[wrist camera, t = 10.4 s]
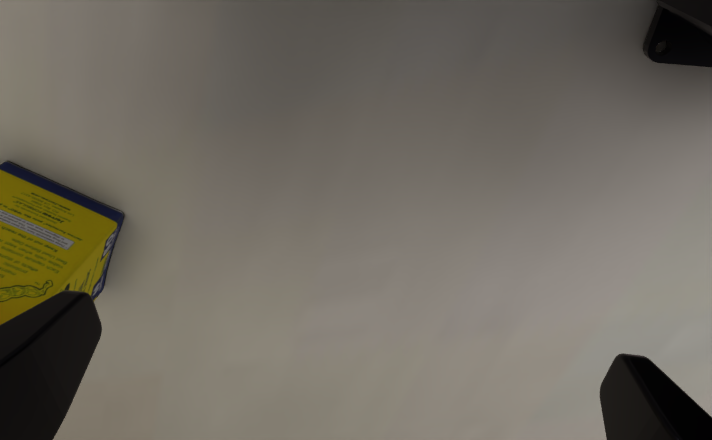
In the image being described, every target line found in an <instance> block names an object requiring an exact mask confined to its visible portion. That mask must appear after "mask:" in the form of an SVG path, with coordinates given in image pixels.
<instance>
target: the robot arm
mask: <svg viewBox="0 0 712 440" xmlns="http://www.w3.org/2000/svg"><path fill="white" fill-rule="evenodd" d="M657 2H658V4H659V5H658V8H657V11H656V13H655V16H654V19H653V21H652V24H651V27H650V29H649V32H648V35H647V37H646V40H645V43H644V48H643V50H644V54H645V55H646V56H647V57H648V58H649V59H650V60H652V61H654V62H657V63H667V64H680V65H692V66H705V67H712V0H657ZM665 40H667V46H666V47H665V49H664V50H662V51H661V52H655V50H656V46H657V45H658V43H660V42H661V41H665ZM101 331H102V326H101V322H100V319H99V316H98V313H97V310H96V307H95V304H94V302H93V299H92V297H91V295H89V294H88V293H86V292H80V291H71V290H65V291H62V292H60V293H58V294H56V295H54V296H52V297H50V298H48V299H47V300H45V301H43V302H41V303H39V304H37V305H36V306H34V307H32V308H30V309H28V310H27V311H25V312H23V313H21V314H19V315H17V316H16V317H14V318H12V319H10V320H8V321H6V322H5V323H3V324H1V325H0V440H53V438H54V436H55V435H56V433H57V431H58V429H59V427H60V425H61V424H62V422H63V420H64V418H65V416H66V414H67V412H68V410H69V407H70V405H71V403H72V401H73V399H74V396H75V394H76V392H77V390H78V387H79V385H80V383H81V380H82V378H83V376H84V374H85V371H86V369H87V367H88V364H89V362H90V360H91V358H92V355H93V353H94V351H95V349H96V346H97V344H98V342H99V339H100V336H101ZM600 401H601V407H602V413H603V419H604V426H605V432H606V438H607V440H712V417H711V416H710V415H709V414H708V413H707V412H705V411H704V410H703V409H702V408H701V407H700V406H699V405H698V404H697V403H696V402H695V401H694V400H693V399H692V398H690V397H689V396H688V395H687V394H686V393H685V392H684V391H683V390H682V389H681V388H680V387H679V386H678V385H677V384H675V383H674V382H673V381H672V380H671V379H670V378H669V377H668V376H667V375H666V374H665V373H664V372H663V371H662V370H660V369H659V368H658V367H657V366H656V365H655V364H654V363H653V362H652V361H651V360H649V359H648V358H646V357H644V356H640V355H631V354H619V355H618V356H616V357H615V359H614V361H613V363H612V365H611V366H610V368H609V370H608V372H607V374H606V376H605V378H604V380H603V382H602V384H601V387H600Z"/></svg>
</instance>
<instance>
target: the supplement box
mask: <svg viewBox="0 0 712 440" xmlns="http://www.w3.org/2000/svg"><path fill="white" fill-rule="evenodd" d="M123 217H124V215H123V212H121V211H119V210H116V209H114V208H111V207H109V206H107V205H105V204H102V203H99V202H97V201H95V200H93V199H90V198H88V197H86V196H84V195H82V194H80V193H77V192H75V191H73V190H71V189H69V188H67V187H65V186H62V185H60V184H58V183H55V182H53V181H51V180H49V179H46V178H44V177H42V176H40V175H37V174H35V173H33V172H31V171H28V170H26V169H23V168H20V167H18V166H17V165H14V164H12V163H10V162H4V163H2V164H1V165H0V325H1V324H3V323H5V322H6V321H8V320H10V319H12V318H14V317H16V316H17V315H19V314H21V313H23V312H25V311H27V310H28V309H30V308H32V307H34V306H36V305H37V304H39V303H41V302H43V301H45V300H47V299H48V298H50V297H52V296H54V295H56V294H58V293H60V292H62V291H65V290H71V291H80V292H86V293H88V294H89V295H91V297H92V299H93V302H94V300H95V299H96V298H97V297H98V295H99V294H100V293H101V292H102V290H103V288H104V282H105V276H106V271H107V267H108V264H109V260H110V257H111V254H112V250H113V247H114V244H115V241H116V238H117V236H118V233H119V231H120V228H121V225H122V222H123Z"/></svg>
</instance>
